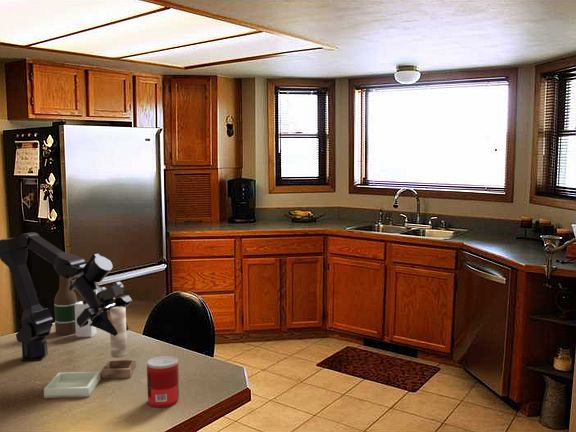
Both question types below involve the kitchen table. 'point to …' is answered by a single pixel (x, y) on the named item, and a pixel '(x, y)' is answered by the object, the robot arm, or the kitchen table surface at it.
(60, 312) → the beer bottle
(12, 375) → the kitchen table surface
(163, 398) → the canned food
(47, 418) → the kitchen table surface
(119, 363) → the brown square open box
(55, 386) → the tray
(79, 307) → the skincare box
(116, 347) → the peg
